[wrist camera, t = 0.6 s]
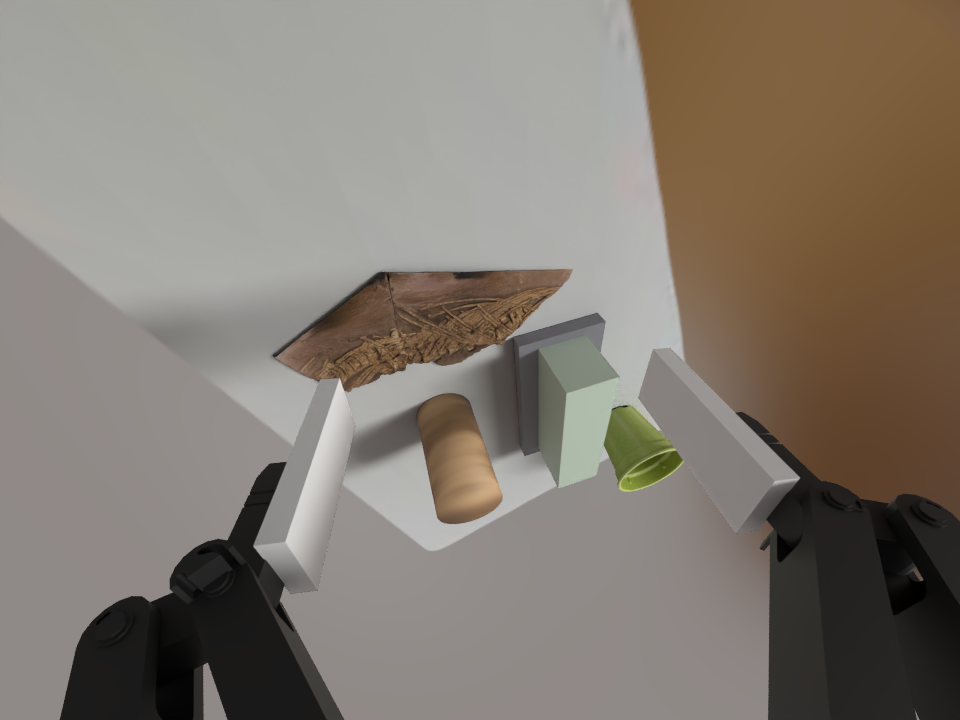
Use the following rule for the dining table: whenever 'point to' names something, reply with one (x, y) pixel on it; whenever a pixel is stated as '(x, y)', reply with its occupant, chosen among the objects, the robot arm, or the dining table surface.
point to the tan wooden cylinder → (457, 460)
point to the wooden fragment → (419, 322)
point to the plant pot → (638, 450)
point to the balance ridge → (565, 396)
